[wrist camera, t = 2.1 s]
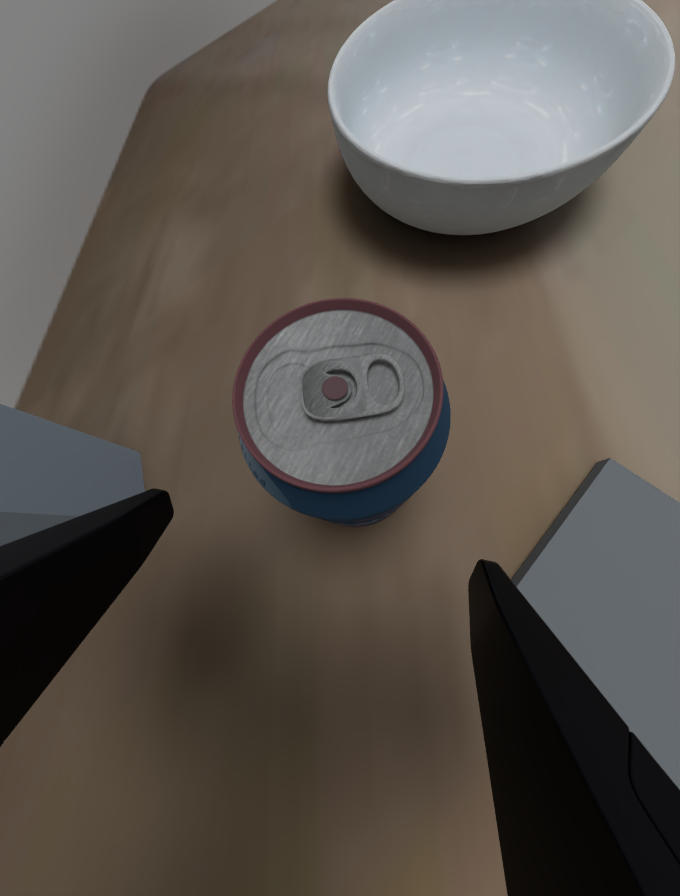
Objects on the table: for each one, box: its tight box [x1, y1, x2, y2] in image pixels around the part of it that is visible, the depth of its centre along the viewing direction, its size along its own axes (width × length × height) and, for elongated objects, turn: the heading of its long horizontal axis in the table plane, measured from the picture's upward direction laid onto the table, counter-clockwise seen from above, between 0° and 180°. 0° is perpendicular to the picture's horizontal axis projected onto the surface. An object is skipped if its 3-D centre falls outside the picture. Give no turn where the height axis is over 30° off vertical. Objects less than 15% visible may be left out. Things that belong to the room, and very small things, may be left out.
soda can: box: [232, 298, 450, 526], centre depth 14 cm, size 7×7×12 cm
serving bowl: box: [328, 0, 675, 235], centre depth 22 cm, size 21×21×7 cm
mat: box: [511, 458, 680, 789], centre depth 15 cm, size 12×12×1 cm
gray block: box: [0, 404, 145, 546], centre depth 16 cm, size 5×5×10 cm
